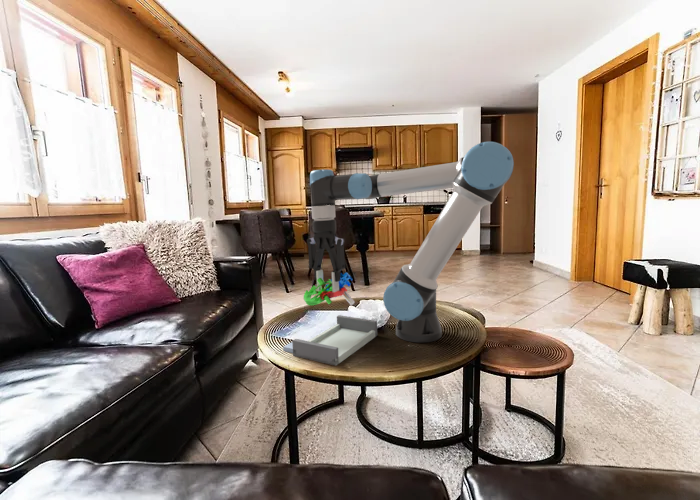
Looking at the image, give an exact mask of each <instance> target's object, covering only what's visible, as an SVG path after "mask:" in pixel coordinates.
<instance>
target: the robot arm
mask: <svg viewBox="0 0 700 500" xmlns="http://www.w3.org/2000/svg"><path fill="white" fill-rule="evenodd" d="M514 165H515V163H514V157H513V155H512V153H511V151H510V150H509V149H508V148H507V147H506V146H504V145H503V144H501V143H499V142H496V141H482V142H480V143H477V144H475V145H474V146H472V147H471V148H470V149H469V150H468V151H467V152H466V153H465V155H464V156H463V157H460V158H459V160H457V161H455V162H447V163H442V164H435V165H430V166H429V165H428V166H423V167H417V168H411V169H410V168H409V169H404V170H397V171H392V172H384V173H379V174H373V175H372V174H371V175H370V174H367V173H362V172H360V173H359V172H355V173H349V174H341V175H340V174H339V175H336V174H334V171H333V170H332V169H316V170H315V169H314V170H312V171H311V172H310V174H309V187H310V188H309V189H310V200H311V202H310V203H311V218H312V220H313V221H312V222H311V223H312V232H313V237H311V238H307V239H306V243H307V246H308V251H307V252H308V267H309V269H313V271H314V280H315V281H316V287H317V286H319V285H320V284H319V283H318V281H317V280H318V279H319V278H322V279H323V280H324V270H323V267H322V264H323V263H322V262H323V258H324V257H323V256H324V253H325V252H324V251H326V252H327V253H328V256H329V260H330V263H331V266H332V271H331V279H332V290H333V292H336V291H339V281H340V273H341V271H342V270H345V269H346V260H345V259H346V258H345V247H344V245H345V238H344V237H343V238H340V237H338V235H337V233H336V232H337V220H336V219H335V218H336V201H339V200H342V201H343V200H374V199H375V198H376V199H377V198H383V197H390V196H391V197H392V196H399V195H407V194H415V193H423V192H430V191H438V190H439V191H440V190H446V189H453V192H452V193H451V195H450V197H449V198H448V200H447V202H446V203H445V205H444V206H443V209H441V212H440V213H439V215H438V216H437V218H436V220H435V221H434V224H433V225H432V227H431V229H430V230H429V232H428V234H427V235H426V237H425V238H424V239H423V242H422V243H421V245H420V247H419V249H418V250H417V251H416V253H415V255H414V257H413V258H412V259H411V261H410V263H408V264H404V265H402V266H401V268H400V269H399V271H398V273H397V275H396V277H395V278H394V279H393V280H392V281H393V282H391V283H390V284H389V285H388V286H386V289H385V290H384V293H383V298H382V299H383V305H384V308H385V310H386V311H387V312H388V313H389V315H390V316H392V318H395V319H396V320H397V322H396V326H395V335H396V337H397V338H399V339H401V340H403V341H407V342H410V343H431V342H435V341H439V340H440V339H441V338H442V336H443V332H442V329H443V328H442V326H441V322H440V320H439V317H438V314H437V289H438V282H437V280H438V277H439V276H440V274H441V272H442V271H443V269H444V268H445V267H446V265H447V263H448V262H449V261H450V258H451V257H452V256H453V254H454V253H455V250H456V249H457V248H458V246H459V244H460V243H461V241H462V240H463V238H464V237H465V235H466V234H467V232H468V230H469V229H470V227H471V226H472V224H473V222H474V221H475V220H476V218H477V217H478V215H479V213H480V212H481V210H482V209H483V207H485V206H489V205H492V204H493V202H495V199H496V198H497V197H498V194H500V192H501V190H502V189H503V187H504V186H505V184H506V183H507V182H509V180H510V178H511V177H512V175H513V171H514ZM320 290H321V286H320V287H318V288H317V289H316V291H320Z"/></svg>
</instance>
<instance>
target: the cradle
mask: <svg viewBox="0 0 700 500" xmlns="http://www.w3.org/2000/svg"><path fill="white" fill-rule="evenodd" d="M377 336H378V321H377V320H375V319H374V320H373V319H368V318H360V317H353V316H349V315H348V316H347V315H340V314H337V316H336V324H335V325H333V326H331V327H330V328H328V329H326V330H324V331H322V332H320V333H319V334H317V335H316V336H314V337H312V338H310V339H309V340H305V341H304V339H301V340H299V339H300V338H294V339H292V341H291V342H292V344H293V353H292V356H293V357H297V358H302V359H307V360H311V361H315V362H318V363H323V364H327V365H330V366H331V365H332V366H335V367H336V366H338V365H339V364H341V363H342V362H343V361H344V360H346V359H347V358H348V357H350V356H351V355H353V354H355V353H356V352H357V351H358V350H361V348H362V347H364V346H365V345H366V344H368V343H369V342H370V341H372V340H373V339H375V338H376V337H377Z"/></svg>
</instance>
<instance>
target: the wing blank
mask: <svg viewBox="0 0 700 500" xmlns="http://www.w3.org/2000/svg"><path fill="white" fill-rule="evenodd" d="M298 339H299V340H302V338H301V339H300V338H298ZM303 340H304V339H303ZM304 341H306V340H304ZM282 351H284V352H287V353H291V354H293V344H292V341H291V342H290V343H288V344H285V345H284V346H283V347H282Z"/></svg>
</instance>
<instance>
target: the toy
mask: <svg viewBox="0 0 700 500" xmlns="http://www.w3.org/2000/svg"><path fill="white" fill-rule="evenodd" d="M349 280H350V281H351V282H352V281H353V277H352V276H351V275H350V274H349V273H348V272H345V273H342V272H340V281H339V291H336V292H333V290H332V278H331V279H330V278H328V280H327V281H324V278H323V279H322V278H319V279H318V280H316V282H317V281H318V283H319V284H320V285H319V286H317V285H316V286H315V285H314V284H313V285H312V287H311V288H310V289H309V290H308V289H306V291H304V294H303V302H305V304H306V305H308V306H317V305H319V304H321V303H323V302H326V303H327V304H328V305H330V304H332V302H333V301H332V298H337V297H343V298H344V299H345V300H346V302H347V303H348V304H349V305H350V306H352V305H354V304H355V303H356V302H355V300H354V298H352V297H351V296H350V294H349V293H348V289H347V288H346V287H345V286H348V287H351V284H352V283H351V282H350V281H349ZM320 286H321V290H319V291H318V290H317V288H318V287H320ZM313 295H314V296H313ZM312 296H313V297H312Z"/></svg>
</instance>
